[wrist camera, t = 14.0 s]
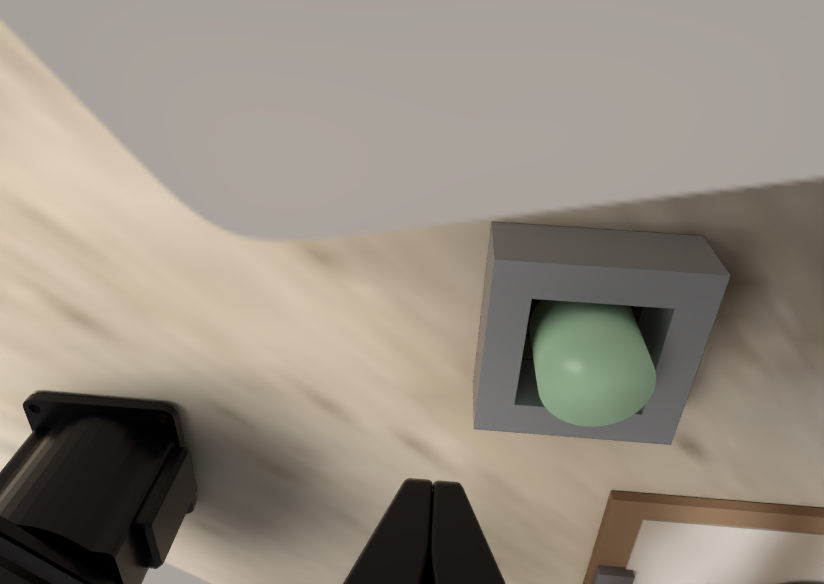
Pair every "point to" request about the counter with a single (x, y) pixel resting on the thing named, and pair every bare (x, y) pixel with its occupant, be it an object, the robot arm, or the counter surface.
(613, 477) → the counter surface
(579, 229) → the button housing
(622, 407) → the button
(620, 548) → the clipboard
